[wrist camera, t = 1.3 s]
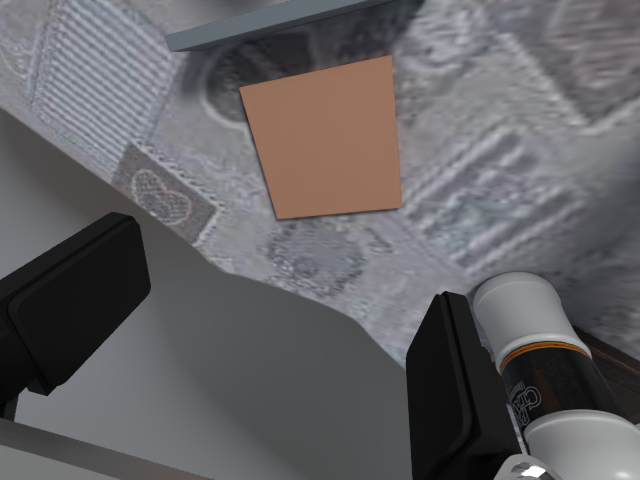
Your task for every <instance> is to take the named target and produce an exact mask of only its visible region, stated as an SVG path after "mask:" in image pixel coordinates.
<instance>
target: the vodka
mask: <svg viewBox="0 0 640 480" xmlns="http://www.w3.org/2000/svg"><path fill="white" fill-rule="evenodd" d="M473 310H474V313H475V316H476V318H477V321H478V322H479V324H480V325H481V326H482V328H483V330H484V332H485V334H486V336H487V338H488V341H489V343H490V345H491V348H492V350H493V353H494V357H495V365H496V369H497V371H498V373H499V374H500V375H501V377H502V380H503V383H504V386H505V389H506V392H507V395H508V398H509V401H510V404H511V407H512V410H513V413H514V416H515V419H516V422H517V425H518V428H519V430H520V433H521V436H522V439H523V442H524V445H525V448H526V451H527V454H528V455H529V456H532V457H534V458H536V459H538V460H540V461H542V462H543V463H545V464H546V465H547V466H549V467H550V468H551V469H553V470H554V471H555V472H556V473H557V474H558V475H559V476H560V477H561V478H562V479H563V480H640V430H639V429H638V428H637V427H636V426H635V425H634V424H633V423H632V421H631V420H630V418H629V416H628V415H627V413H626V412H625V410H624V409H623V407H622V405H621V404H620V402H619V401H618V399H617V398H616V396H615V395H614V393H613V391H612V390H611V388H610V387H609V385H608V384H607V382H606V380H605V379H604V377H603V376H602V374H601V373H600V371H599V370H598V368H597V366H596V365H595V363H594V362H593V360H592V357H591V352H590V350H589V349H588V347H587V346H586V345H585V344H584V343H583V342H581V340H580V339H579V337H578V336H577V335H576V333H575V332H574V330H573V328H572V326H571V324H570V322H569V320H568V318H567V316H566V314H565V312H564V310H563V308H562V305H561V300H560V297H559V296H558V294H557V292H556V291H555V289H554V287H553V286H552V285H551V284H550V283H549V282H548V281H547V280H545V279H543V278H542V277H539V276H537V275H535V274H532V273H527V272H508V273H503V274H500V275H497V276H495V277H492V278H491V279H489V280H487V281H486V282H484V283H483V284H482V285H481V286H480V287H479V288H478V290H477V291H476V293H475V296H474V299H473Z"/></svg>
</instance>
